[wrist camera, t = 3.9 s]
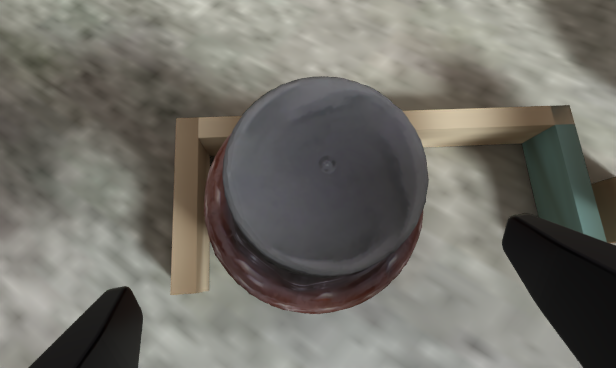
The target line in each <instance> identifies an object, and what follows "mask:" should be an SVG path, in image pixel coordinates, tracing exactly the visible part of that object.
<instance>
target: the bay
mask: <svg viewBox="0 0 616 368" xmlns="http://www.w3.org/2000/svg"><path fill="white" fill-rule="evenodd" d="M403 112H404V114H405V115H406V116H407V118H408V119H409V121H410V122H411V124H412V125H413V126H414V128H415V129H416V132H417V134H418V136H419V138H420V139H421V142H422V145H423V147H446V146H471V145H496V144H520V143H522V146H523V151H524V155H525V159H526V164H527V168H528V172H529V177H530V181H531V185H532V190H533V194H534V199H535V203H536V207H537V212H538V216H539V217H540V218H542V219H545V220H548V221H550V222H553V223H556V224H559V225H561V226H564V227H567V228H569V229H572V230H575V231H578V232H580V233H583V234H586V235H588V236H591V237H594V238H597V239H599V240H602V241H605V242H607V241H606V237H605V233H604V230H603V226H602V222H601V219H600V215H599V211H598V208H597V204H596V200H595V197H594V193H593V189H592V186H591V182H590V178H589V175H588V171H587V167H586V164H585V160H584V156H583V153H582V149H581V145H580V142H579V138H578V134H577V131H576V127H575V123H574V120H573V116H572V112H571V109H570V105H563V106H532V107H502V108H471V109H441V110H411V111H403ZM241 117H242V116H228V117H198V118H176V140H175V170H174V201H173V232H172V263H171V294H170V295H177V294H192V293H200V292H205V291H209V247H210V238H209V235H208V231H207V227H206V224H205V217H204V197H205V186H206V181H207V177H208V173H209V170H210V156H216V154H217V152H218V151H219V149H220V147H221V146H222V144H223V143H224V141H225V140H226V139H227V137H228V136H229V135H230V134H231V133H232V131H233V129H234V127H235V126H236V124H237V123H238V121H239V119H240V118H241Z"/></svg>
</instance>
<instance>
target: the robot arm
mask: <svg viewBox="0 0 616 368" xmlns="http://www.w3.org/2000/svg"><path fill="white" fill-rule="evenodd" d="M502 246H503V250H504V252H505V254H506V255H507V257H508V259H509V260H510V262H511V263H512V265H513V267H514V268H515V270H516V272H517V273H518V275H519V277H520V278H521V280H522V282H523V283H524V285H525V287H526V288H527V290H528V292H529V293H530V295H531V297H532V298H533V300H534V301H535V303H536V304H537V306H538V307H539V309H540V310H541V311H542V313H543V314H544V316H545V317H546V318H547V320H548V321H549V322H550V324H551V325H552V326H553V328H554V329H555V330H556V332H557V333H558V334H559V336H560V337H561V338H562V340H563V341H564V342H565V344H566V345H567V346H568V348H569V349H570V351H571V352H572V353H573V355H574V356H575V357H576V359H577V360H578V361H579V363H580V364H581V365H582V367H583V368H616V246H615V245H613V244H610V243H607V242H605V241H602V240H599V239H597V238H594V237H591V236H588V235H586V234H583V233H580V232H578V231H575V230H572V229H569V228H567V227H564V226H561V225H559V224H556V223H553V222H550V221H548V220H545V219H542V218H540V217H537V216H534V215H532V214H528V213H524V214H518V215H513V216H511V217H510V218H509V219H508V221H507V224H506V228H505V232H504V236H503V239H502ZM142 324H143V315H142V311H141V308H140V306H139V304H138V302H137V300H136V298H135V296H134V294H133V292H132V291H131V289H130V288H129V287H126V286H124V287H118V288H113V289H109V290H107V291H106V292H105V293H104V294H103V295H102V296H100V297H99V298H98V299H97V300H96V301H95V302H94V303H93V304H92V305H91V306H90V307H89V308H88V309H87V310H86V311H85V312H84V313H83V314H82V315H81V316H80V317H79V318H78V319H77V320H76V321H75V322H74V323H73V324H72V325H71V326H70V327H69V328H68V329H67V330H66V331H65V332H64V333H63V334H62V335H61V336H60V337H59V338H58V339H57V340H56V341H55V342H54V343H53V344H52V345H51V346H50V347H49V348H48V349H47V350H46V351H45V352H44V353H43V354H42V355H41V356H40V357H39V358H38V359H37V360H36V361H35V362H34V363H33V364H32V365H31V366H30V367H29V368H138V362H139V353H140V343H141V334H142Z"/></svg>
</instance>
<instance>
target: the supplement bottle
mask: <svg viewBox="0 0 616 368" xmlns="http://www.w3.org/2000/svg"><path fill="white" fill-rule="evenodd" d="M427 188H428V171H427V162H426V155H425V152H424V149H423V145H422V142H421V139H420V138H419V136H418V134H417V132H416V129H415V128H414V126H413V125H412V124H411V122H410V121H409V119H408V118H407V116H406V115H405V114H404V112H403V111H402V110H401V109H400V108H398V107H397V106H396V105H394V104H393V103H392V101H390V100H389V99H388V98H387V97H385V96H384V95H382V94H381V93H380V92H378V91H376V90H375V89H373V88H371V87H369V86H366V85H362V84H360V83H358V82H355V81H351V80H347V79H344V78H338V77H309V78H302V79H298V80H294V81H291V82H288V83H286V84H282V85H280V86H278V87H277V88H275V89H273V90H271V91H269V92H267V93H266V94H265V95H263V96H262V97H260V98H259V99H258V100H257V101H255V102H254V103H253V104H252V105H251V106H250V107H249V108H248V109H247V110H246V111H245V113H244V114H243V115H242V117H241V118H240V119H239V121H238V123H237V124H236V126H235V127H234V129H233V131H232V133H231V134H230V135H229V136H228V137H227V139H226V140H225V141H224V143H223V144H222V146H221V147H220V149H219V151H218V152H217V154H216V156H215V158H214V161H213V163H212V165H211V167H210V170H209V173H208V177H207V181H206V186H205V197H204V217H205V224H206V227H207V231H208V235H209V238H210V242H211V244H212V247H213V249H214V252H215V255H216V257H217V258H218V259H219V261H220V262H221V264H222V265H223V266H224V268H225V269H226V271H227V272H228V274H229V275H230V276H231V277H232V278H233V279H234V280H235V281H236V282H237V284H238V285H241V286H242V287H243V288H244V289H245V290H247V291H248V293H249V294H251V295H253V296H255V297H256V298H258V299H259V300H261V301H263V302H265V303H269V304H270V305H271V306H274V307H277V308H280V309H283V310H289V311H294V312H300V313H309V314H321V313H330V312H334V311H339V310H343V309H347V308H350V307H353V306H355V305H358V304H360V303H363V302H364V301H366V300H368V299H370V298H372V297H373V296H375V295H376V294H378V293H379V292H380V291H382V290H383V289H384V288H385V287H387V286H388V285H389V284H390V283H391V281H392V280H394V279H395V278H396V277H397V276H398V275H399V273H400V272H401V271H402V269H403V267H404V266H405V265H406V264H407V262H408V260H409V258H410V256H411V254H412V252H413V250H414V248H415V246H416V243H417V241H418V238H419V235H420V231H421V228H422V220H423V208H424V205H425V202H426V194H427Z"/></svg>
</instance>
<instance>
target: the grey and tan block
mask: <svg viewBox="0 0 616 368" xmlns="http://www.w3.org/2000/svg"><path fill="white" fill-rule="evenodd" d="M591 186H592V189H593V193H594V197H595V200H596V204H597V208H598V211H599V215H600V219H601V222H602V226H603V230H604V233H605V237H606V241H607V243H616V177H613V178H610V179H607V180H603V181H600V182H596V183H593V184H591Z"/></svg>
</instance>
